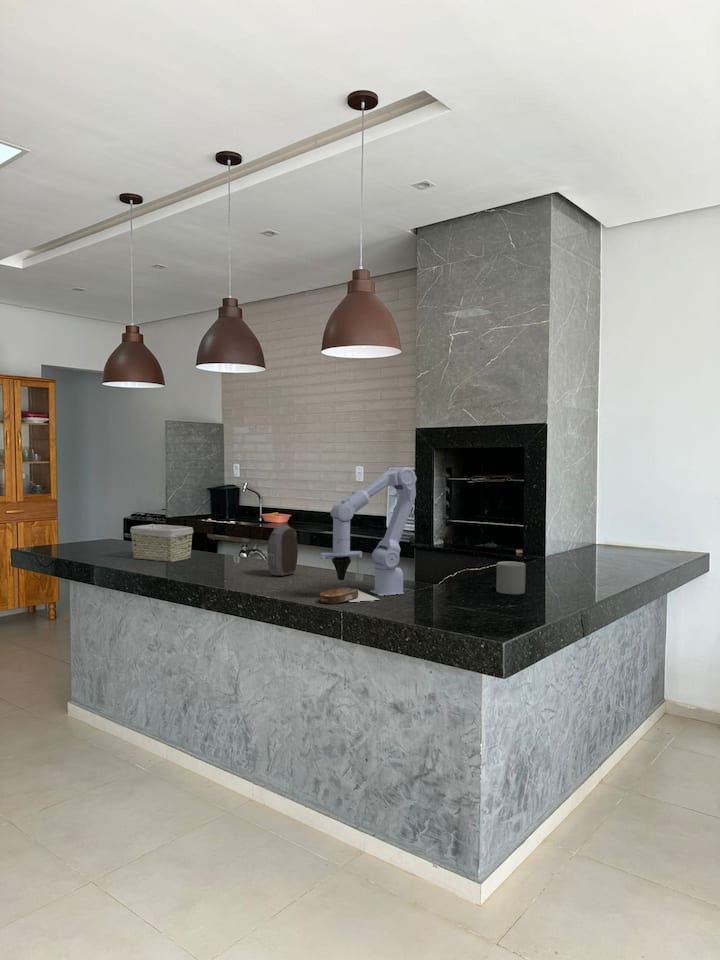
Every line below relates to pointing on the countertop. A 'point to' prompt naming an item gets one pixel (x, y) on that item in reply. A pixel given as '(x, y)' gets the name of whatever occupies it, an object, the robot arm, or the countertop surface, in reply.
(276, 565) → the soft grey pack
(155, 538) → the storage basket
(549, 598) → the countertop surface
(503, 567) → the coffee mug
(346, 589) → the tin
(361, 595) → the grey mat
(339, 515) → the robot arm
